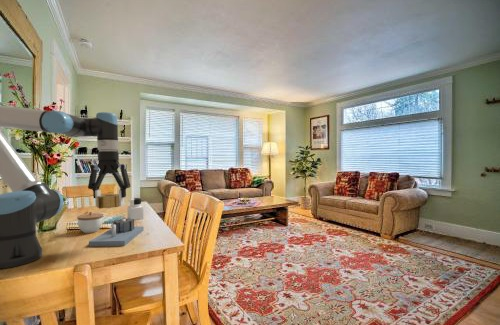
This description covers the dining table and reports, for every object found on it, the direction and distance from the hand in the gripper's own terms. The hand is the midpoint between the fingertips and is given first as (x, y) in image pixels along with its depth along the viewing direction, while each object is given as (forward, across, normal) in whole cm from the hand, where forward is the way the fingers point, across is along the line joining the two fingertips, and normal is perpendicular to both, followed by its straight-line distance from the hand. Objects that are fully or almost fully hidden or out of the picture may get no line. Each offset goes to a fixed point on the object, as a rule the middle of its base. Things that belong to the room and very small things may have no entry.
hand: (110, 205), depth 106 cm
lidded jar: (+16, -20, +19) cm, 32 cm away
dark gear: (+14, -2, +14) cm, 20 cm away
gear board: (+16, -1, +9) cm, 18 cm away
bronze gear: (0, 0, 0) cm, 0 cm away
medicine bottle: (+16, -10, +44) cm, 48 cm away
